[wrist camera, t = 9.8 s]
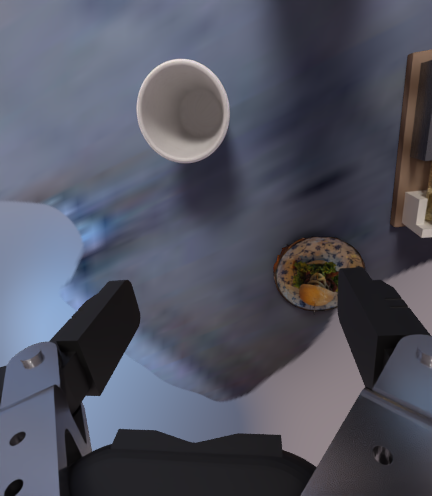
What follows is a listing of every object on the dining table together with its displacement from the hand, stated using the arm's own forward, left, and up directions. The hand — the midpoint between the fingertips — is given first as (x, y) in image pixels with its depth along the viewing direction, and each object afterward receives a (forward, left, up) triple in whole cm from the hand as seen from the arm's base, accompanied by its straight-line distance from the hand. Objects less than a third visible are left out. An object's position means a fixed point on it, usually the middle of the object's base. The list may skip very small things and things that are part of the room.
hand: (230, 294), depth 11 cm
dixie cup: (-7, -5, -28) cm, 30 cm away
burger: (+15, +8, -29) cm, 33 cm away
